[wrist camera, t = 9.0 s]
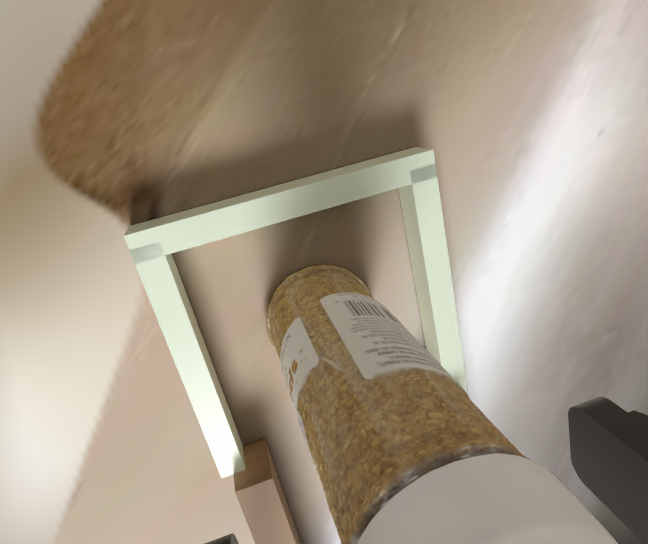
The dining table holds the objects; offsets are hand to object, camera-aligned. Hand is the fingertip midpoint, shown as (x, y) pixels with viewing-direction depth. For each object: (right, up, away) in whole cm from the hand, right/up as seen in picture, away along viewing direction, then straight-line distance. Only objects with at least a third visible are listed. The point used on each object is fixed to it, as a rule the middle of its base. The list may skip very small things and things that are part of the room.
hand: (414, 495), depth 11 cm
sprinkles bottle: (-2, +3, +9) cm, 10 cm away
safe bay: (-2, +3, +9) cm, 10 cm away
